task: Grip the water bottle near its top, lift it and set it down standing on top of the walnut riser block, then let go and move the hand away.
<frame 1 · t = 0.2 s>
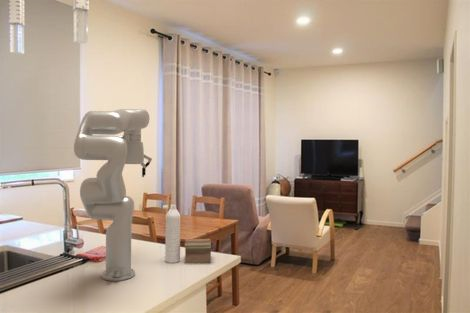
hand: (132, 176, 172), 37 cm above the counter, tool pointing down, fingers open, 9 cm apart
water bottle: (170, 261, 169), on the counter
riser: (197, 259, 172), on the counter
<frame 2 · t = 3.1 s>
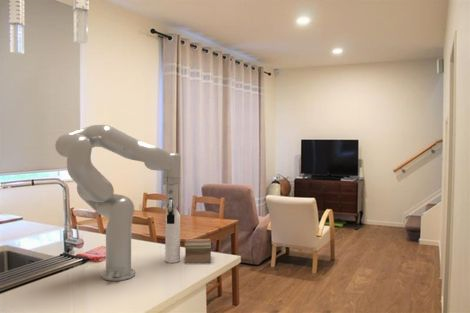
hand: (171, 221, 168), 18 cm above the counter, tool pointing down, fingers closed on water bottle, 6 cm apart
water bottle: (170, 261, 169), on the counter, touching gripper
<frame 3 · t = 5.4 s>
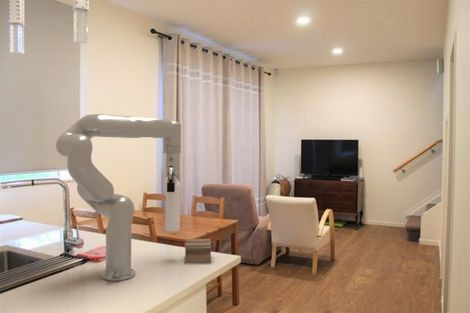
hand: (171, 190, 167), 31 cm above the counter, tool pointing down, fingers closed on water bottle, 6 cm apart
water bottle: (170, 231, 168), point 14 cm above the counter, touching gripper
when the fingers open (27 cm above the counter, at t = 7.6 s): water bottle drops 2 cm, resting on riser.
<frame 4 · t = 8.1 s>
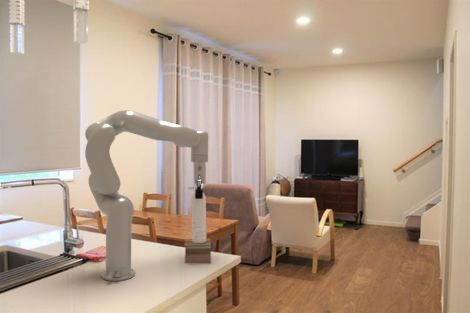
hand: (198, 197, 171), 28 cm above the counter, tool pointing down, fingers open, 9 cm apart
water bottle: (197, 242, 171), point 8 cm above the counter, touching riser
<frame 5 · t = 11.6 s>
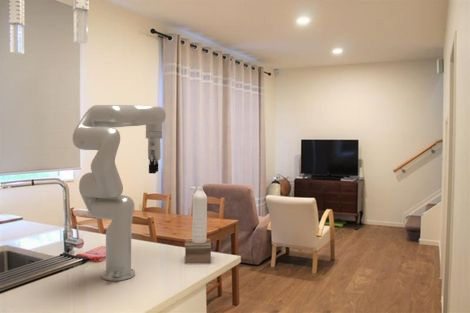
hand: (153, 172, 177), 38 cm above the counter, tool pointing down, fingers open, 9 cm apart
nothing on the counter moved.
at the end: water bottle inside the target area on the riser (0.6 cm from its centre), point 7.8 cm above the riser's base; water bottle tilted 0°; the gripper is holding nothing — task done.
